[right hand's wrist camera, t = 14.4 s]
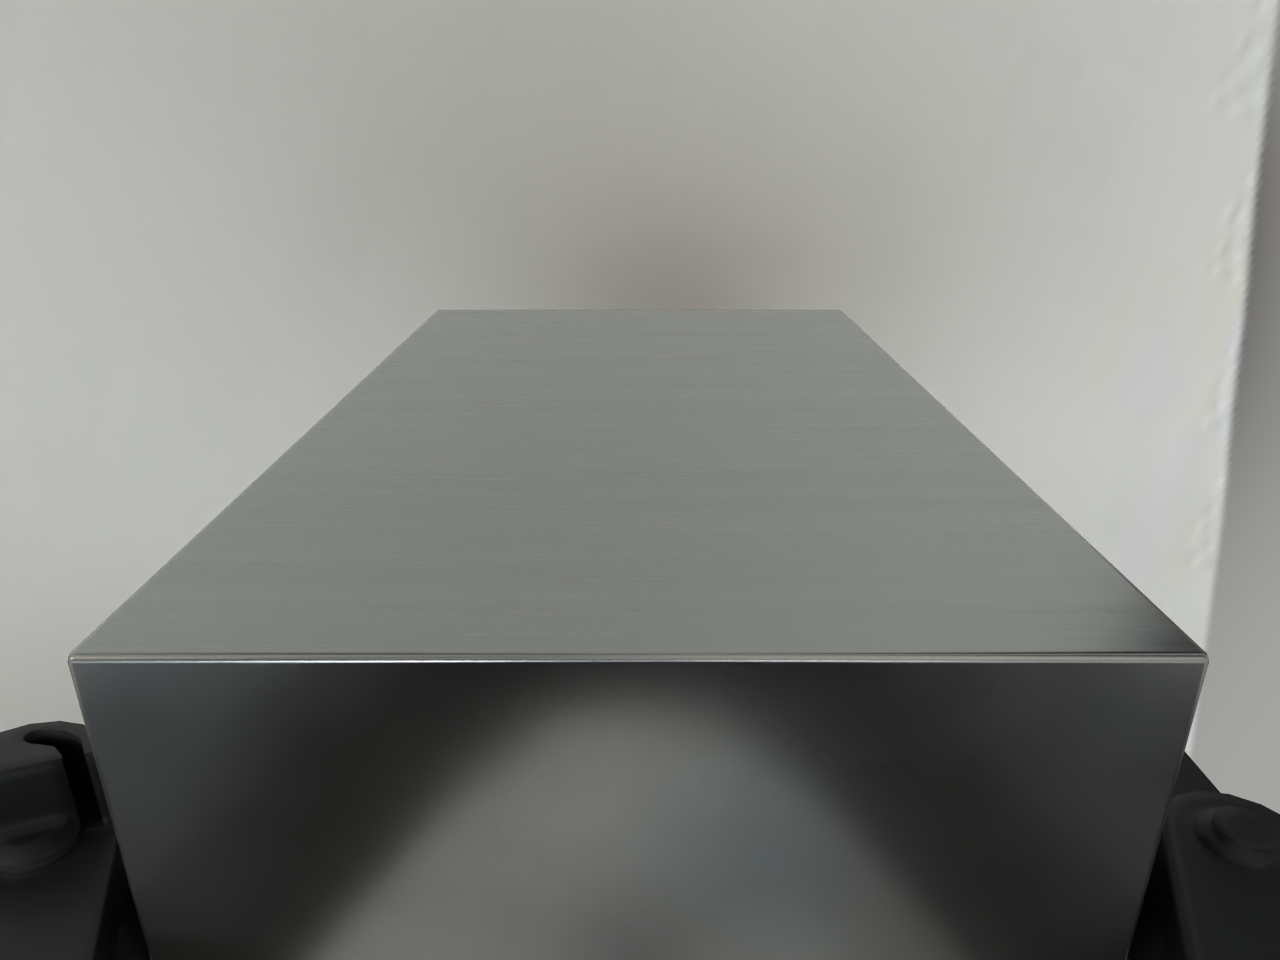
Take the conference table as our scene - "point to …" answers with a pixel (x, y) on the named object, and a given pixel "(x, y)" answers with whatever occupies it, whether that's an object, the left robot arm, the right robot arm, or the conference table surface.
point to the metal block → (638, 671)
